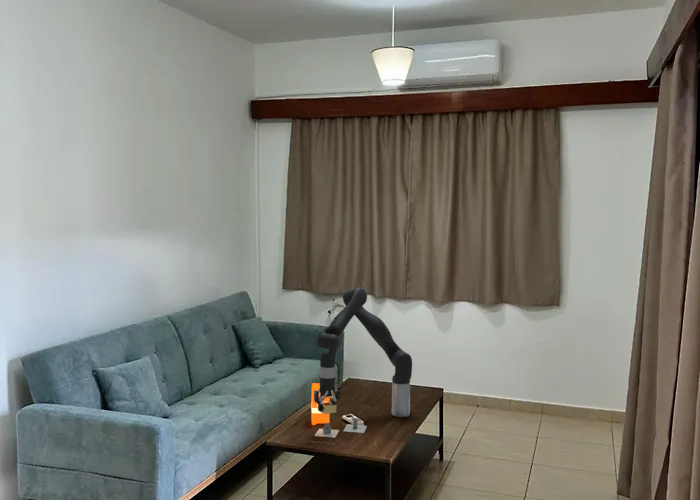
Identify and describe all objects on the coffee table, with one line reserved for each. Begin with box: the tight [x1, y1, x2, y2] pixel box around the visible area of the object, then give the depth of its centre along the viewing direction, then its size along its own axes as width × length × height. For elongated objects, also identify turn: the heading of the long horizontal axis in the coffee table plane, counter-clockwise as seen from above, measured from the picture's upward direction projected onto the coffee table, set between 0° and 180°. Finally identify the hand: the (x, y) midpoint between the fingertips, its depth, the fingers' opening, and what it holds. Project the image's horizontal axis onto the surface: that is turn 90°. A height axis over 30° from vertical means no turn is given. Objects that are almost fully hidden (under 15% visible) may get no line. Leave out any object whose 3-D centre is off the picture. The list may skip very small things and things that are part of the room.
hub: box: [314, 422, 340, 438], centre depth 315 cm, size 10×10×6 cm
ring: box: [318, 401, 337, 414], centre depth 314 cm, size 6×6×4 cm
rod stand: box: [343, 418, 368, 434], centre depth 321 cm, size 10×10×5 cm
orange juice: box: [310, 382, 331, 426], centre depth 331 cm, size 8×9×20 cm
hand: (326, 410), depth 314 cm, fingers closed on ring, 6 cm apart
